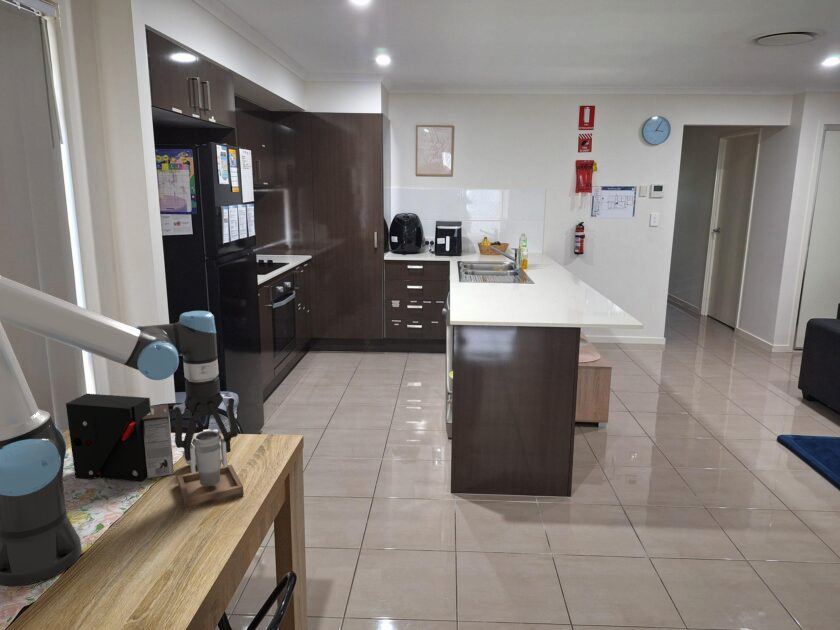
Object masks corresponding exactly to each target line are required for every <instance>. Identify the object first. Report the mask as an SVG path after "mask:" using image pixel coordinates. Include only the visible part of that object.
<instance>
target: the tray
mask: <svg viewBox="0 0 840 630" xmlns="http://www.w3.org/2000/svg"><path fill="white" fill-rule="evenodd" d="M177 486H178V488H179V491H180V496H181V498H182V501H183V503H184V508H185V510H190V509H191V510H192V509H195V508H199V507H203V506H208V505H212V504H216V502H217V503H221V502H224V501H229V500H233V499H236V498H237V497H238V498H241V497H240V496H242V497H244V496H245V495H244V493H245V492H244V485H243V483H242V482H241V479H240V477H239V476H238V474H237V472H236V470H235V468H234V467H233V465H232V464H227V467H224V466H223V465H222V466H221V467H220V482H219V483H217V484H215V485H212V486H203V485H201V484H200V479H199V472H198V471H196V474H192V472H189V473H185V474H179V475H177ZM243 495H244V496H243Z"/></svg>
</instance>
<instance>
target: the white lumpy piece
mask: <svg viewBox="0 0 840 630" xmlns="http://www.w3.org/2000/svg"><path fill="white" fill-rule="evenodd" d="M208 430H210V428H207V429H202V431H208ZM213 431H217V432H219V430H218V429H217V428H216V429H213ZM197 433H198V432H196V433H194V436H195V435H196V434H197ZM193 448H194V458H195V467H197V462H196V456H195V446H194V445H193ZM220 457H221V460H222V456H221V443H220ZM182 458H183V459H184V462H185V463H186V464H187V465H190V460H189V461H186V459H185V454H184V451H182Z"/></svg>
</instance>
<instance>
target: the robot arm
mask: <svg viewBox="0 0 840 630" xmlns="http://www.w3.org/2000/svg"><path fill="white" fill-rule="evenodd" d="M2 323H4V324H7V325H9V326H12V327H16V328H18V329H20V330H23V331H26V332H29V333H31V334H36V335H38V336H41V337H44V338H46V339H49V340H53V341H56V342H58V343H61V344H63V345H67V346H69V347H73V348H75V349H78V350H81V351H83V352H86V353H90V354H92V355H95V356H98V357H101V358H104V359H105V360H106V359H107V360H109V361H112V362H116V363H118V364H120V365H124V366H126V367H128V368H131V369H135V370H137V371H139V372H140V373H141V374H142V375H144V377H145V378H147V379H149V380H152V381H163V380H165V379H168V378H170V377H172V376H173V375H174V374H175V372H176V371H177V369H178V367H179V365H180V364H179V363H180V359H179V357H180V356H181V357H183V358H182V359H183V362H182V363H183V373H184V378H185V381H184V384H185V385H184V387H185V399H184V402H182V403H180V404H173V405H172V409H173V411H174V414H175V420H174V423H175V424H174V426H175V427H174V428H175V429H174V443H175V446H176V448H178V449H181V448H182V449H183V452H184V454H185V459H186V461H189V460H190V464H189V466H190V473H192V474H196V472H197V471H196V465H195V458H194V448H193V446H194V445H193V444H192V441H193V439H194V436H195V431H196V427H197V425H198V422H199V420H200V418H201V417H202V418H203V417H206V416H213V418H214V420H215V423H216V425H217V426H218V429H219V430H220V432H221V433H220V434H221V435H222V437H221V438H222V440H221V441H220V443H221V456H222V459H221V464H222V466H224V467H227V465H228V457H227V456H228V455H227V454H228V453H231V451H232V450H231V447H232V446H231V440H232V438H236V437H237V436H239V435H238V429H237V424H236V418H235V417H236V416H235V412H234V404H235V398H234V397H233V396H232V395H228V396H222V394H221V388H220V387H221V386H220V377H219V374H220V372H219V363H218V346H217V330H216V323H215V315H214V314H212V312H211V311H207V310H192V311H186V312H183V313H181V314H180V315H179V320H178V322H175V323H163V324H154V325H153V324H152V325H143V326H141V325H138V326H135V327H133V326H131V325H128V324H126V323H123V322H120V321H118V320H115V319H113V318H110V317H107V316H105V315H102V314H101V313H98V312H95V311H92V310H90V309H87V308H85V307H81V306H79V305H77V304H74V303H72V302H69V301H68V300H67V301H66V300H64V299H62V298H59V297H57V296H54V295H50V294H48V293H45V292H44V291H41V290H39V289H36V288H33V287H30V286H28V285H26V284H23V283H20V282H18V281H16V280H12V279H10V278H7V277H5V276H3V275H1V274H0V585H2V586H9V587H10V586H12V587H15V586H16V587H17V586H25V585H30V584H35V583H39V582H41V581H45V580H47V579H51V578H52V577H54V576H57V575H59V574H60V573H62V572H64V571H66V570H67V569H68V568H70V567H71V566H73V565H74V563H76V562H77V561H78V559H79V558H80V556H81V555H82V552H83V551H82V548H83V547H82V542H81V538H80V535H79V534H78V532H77V531H76V528H75V527H74V525H73V523H72V522H71V520H70V519H69V517H68V514H67V506H66V497H65V491H64V482H63V481H64V480H63V478H64V477H63V476H64V466H65V459H66V454H67V442H66V438H65V436H64V435H63V433H62V431H61V430H60V429H59V427H57V426H56V424H55V422H54V421H53V418H52V416H51V414H50V413H49V412H48V411H45V410H43V409H39V407H38V405H37V403H36V400H35V398H34V396H33V393H32V391H31V389H30V386H29V385H28V382H27V380H26V377H25V375H24V372H23V370H22V368H21V365H20V363H19V361H18V359H17V356H16V354H15V351H14V350H13V347H12V344H11V343H10V340H9V338H8V336H7V333H6V330H5V329H4V326H3V324H2ZM222 403H223V405H224V406H225V408H226V413H227V414H226V415H227V421H228V425H229V431H227V428H226V427H225V424H224V423H223V420H222V418H221V416H220V414H219V411H218V409H219V407H220V406H221V404H222ZM185 409H188V410H189V412H190V418H189V421H188V426H187V428H186V432H185V434H184V439H183V414H184V413H185Z"/></svg>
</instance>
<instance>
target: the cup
mask: <svg viewBox="0 0 840 630" xmlns="http://www.w3.org/2000/svg"><path fill="white" fill-rule="evenodd" d="M213 430H214V429H213ZM213 430H212V429H209V430H208V431H203V430H202V431H200V432H196V433H197V434H196V433H195V434H196V435H195V434H194V435H193V439H192V442H191V444H192V445H193V446H195V456H196V462H197V466H196V469H197V472H199V479H200V484H201V485H203V486H212V485H215V484H217V483H219V482H220V467H222V466H221V464H222V459H221V457H220V441H221V440H222V438H223V437H222V436H221V435H220V432H219V431H218V432H217V431H213Z"/></svg>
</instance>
